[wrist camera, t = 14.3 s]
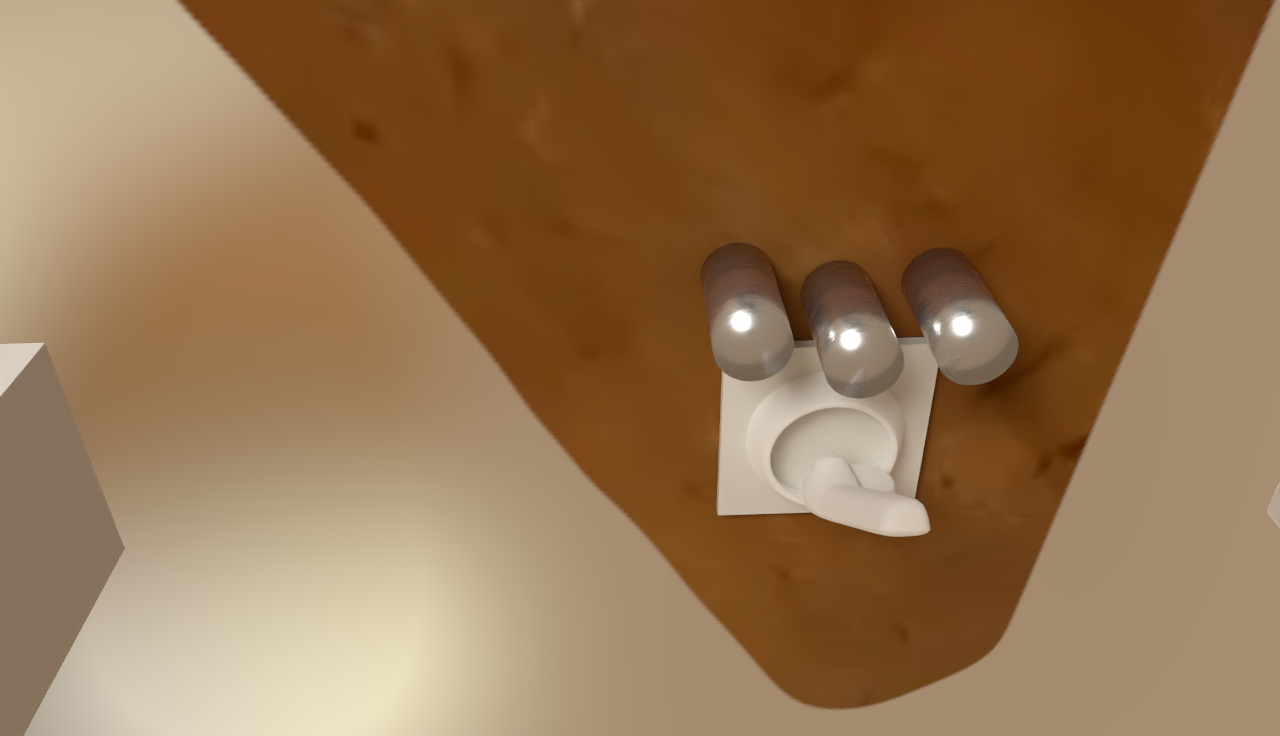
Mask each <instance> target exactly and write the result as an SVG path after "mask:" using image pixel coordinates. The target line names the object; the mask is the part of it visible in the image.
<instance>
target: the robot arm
mask: <svg viewBox="0 0 1280 736" xmlns="http://www.w3.org/2000/svg"><path fill="white" fill-rule="evenodd" d="M1267 513H1268V515H1269V516H1270V517H1271V518H1272V519H1273V521H1274V522H1275V523H1276V525H1277V526H1278V527H1279V528H1280V481H1279V483H1278V486H1277V488H1276V491H1275V493H1274V495H1273V498H1272V500H1271V502H1270V505H1269V507H1268V510H1267ZM123 551H124V546H123V543H122V541H121V538H120V536H119V533H118V530H117V528H116V525H115V523H114V520H113V517H112V515H111V512H110V510H109V507H108V505H107V502H106V499H105V497H104V494H103V492H102V489H101V487H100V484H99V481H98V479H97V476H96V474H95V471H94V469H93V466H92V463H91V461H90V458H89V456H88V453H87V450H86V448H85V445H84V443H83V440H82V438H81V435H80V432H79V430H78V427H77V425H76V422H75V420H74V417H73V415H72V412H71V409H70V407H69V404H68V402H67V399H66V396H65V394H64V391H63V389H62V386H61V383H60V381H59V378H58V376H57V373H56V371H55V368H54V366H53V363H52V360H51V358H50V355H49V353H48V350H47V347H46V345H45V343H27V344H26V343H25V344H0V736H23V735H24V733H25V731H26V730H27V728H28V726H29V724H30V722H31V720H32V718H33V717H34V715H35V713H36V711H37V709H38V708H39V706H40V704H41V702H42V700H43V698H44V696H45V695H46V692H47V691H48V689H49V687H50V685H51V684H52V682H53V680H54V678H55V676H56V674H57V672H58V671H59V669H60V667H61V665H62V663H63V661H64V659H65V657H66V656H67V654H68V652H69V650H70V648H71V647H72V645H73V643H74V641H75V639H76V637H77V636H78V634H79V632H80V630H81V628H82V626H83V624H84V622H85V621H86V619H87V617H88V615H89V613H90V611H91V609H92V607H93V606H94V604H95V602H96V600H97V599H98V597H99V595H100V593H101V591H102V589H103V588H104V586H105V584H106V582H107V580H108V578H109V576H110V575H111V573H112V571H113V569H114V567H115V565H116V563H117V562H118V560H119V558H120V556H121V554H122V552H123Z"/></svg>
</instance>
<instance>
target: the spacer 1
mask: <svg viewBox="0 0 1280 736" xmlns="http://www.w3.org/2000/svg"><path fill="white" fill-rule="evenodd" d="M701 284H702V290H703V296H704V302H705V307H706V313H707V319H708V325H709V331H710V337H711V343H712V348H713V354H714V359H715V361H716V363H717V365H718V367H719V368H720V369H721V370H722V371H723V372H724V373H725V374H727V375H728V376H730V377H732V378H734V379H737V380H741V381H760V380H764V379H767V378H770V377H772V376H774V375H775V374H777V373H778V372H780V371H781V370H782V369H783V368H784V367H785V366H786V365H787V364H788V362H789V361H790V359H791V357H792V354H793V350H794V339H793V335H792V331H791V328H790V325H789V321H788V318H787V315H786V311H785V308H784V304H783V301H782V298H781V294H780V291H779V288H778V284H777V281H776V277H775V274H774V271H773V267H772V264H771V261H770V259H769V258H768V256H767V255H766V254H765V253H764V252H763V251H762V250H761V249H759V248H758V247H756V246H754V245H751V244H747V243H731V244H727V245H724V246H722V247H720V248H718V249H717V250H715V251H714V252H713V253H711V254H710V255H709V257H708V258H707V259H706V261H705V262H704V264H703V267H702V270H701Z"/></svg>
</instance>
